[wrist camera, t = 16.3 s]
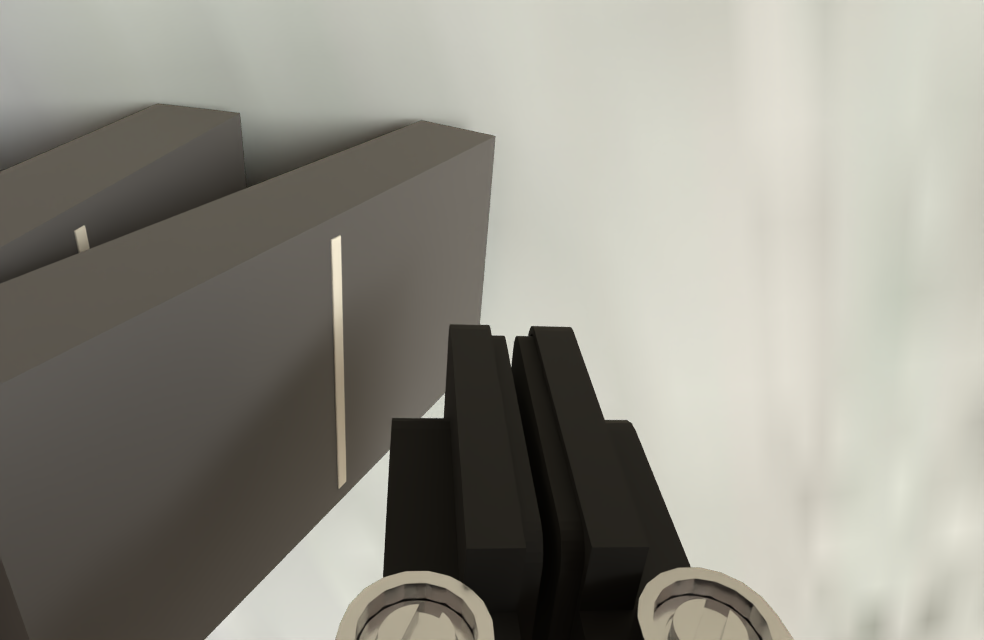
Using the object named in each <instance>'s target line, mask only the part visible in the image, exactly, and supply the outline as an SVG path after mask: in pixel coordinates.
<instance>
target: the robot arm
mask: <svg viewBox="0 0 984 640" xmlns="http://www.w3.org/2000/svg"><path fill="white" fill-rule="evenodd" d="M335 640H794V639H793V637H792V636H791V634H790V633H789V631H788V630H787V628H786V627H785V625H784V624H783V623H782V621H781V620H780V618H779V617H778V615H777V614H776V613H775V611H774V610H773V609H772V608H771V607H770V606H769V604H768V603H767V602H766V601H765V600H764V599H763V598H762V597H761V596H760V595H759V594H757V593H756V592H755V591H753V590H752V589H751V588H749V587H748V586H747V585H745V584H744V583H743V582H740V581H738V580H736V579H734V578H732V577H730V576H728V575H726V574H723V573H721V572H717V571H713V570H708V569H704V568H700V567H692V568H691V567H690V564H689V562H688V559H687V557H686V554H685V552H684V549H683V547H682V544H681V542H680V539H679V537H678V534H677V532H676V529H675V527H674V524H673V522H672V519H671V517H670V515H669V512H668V510H667V507H666V505H665V502H664V500H663V497H662V495H661V492H660V490H659V487H658V485H657V482H656V480H655V477H654V475H653V472H652V470H651V467H650V465H649V463H648V460H647V458H646V455H645V453H644V450H643V448H642V445H641V443H640V440H639V438H638V435H637V433H636V430H635V429H634V427H633V425H632V423H631V422H629V421H627V420H604V417H603V414H602V411H601V408H600V405H599V403H598V400H597V397H596V394H595V391H594V388H593V386H592V383H591V380H590V377H589V374H588V371H587V369H586V366H585V363H584V360H583V357H582V354H581V352H580V349H579V346H578V343H577V340H576V337H575V335H574V332H573V330H572V328H571V327H545V326H531V328H530V331H529V334H528V336H516V338H515V341H514V348H513V357H512V367H511V365H510V359H509V354H508V349H507V344H506V339H505V336H492V335H491V329H490V326H489V325H463V324H450V326H449V336H448V353H447V371H446V389H445V406H444V418H392V424H391V441H390V459H389V478H388V496H387V515H386V533H385V552H384V570H383V578H382V579H380V580H378V581H377V582H375V583H373V584H371V585H370V586H368V587H366V588H365V589H363V591H362V592H361V593H360V594H359V595H358V596H357V597H356V598H355V599H354V600H353V601H352V602H351V603H350V604H349V606H348V608H347V610H346V612H345V614H344V616H343V618H342V620H341V622H340V625H339V628H338V632H337V635H336V639H335Z"/></svg>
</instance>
